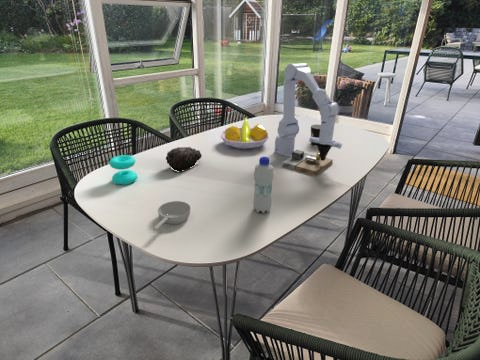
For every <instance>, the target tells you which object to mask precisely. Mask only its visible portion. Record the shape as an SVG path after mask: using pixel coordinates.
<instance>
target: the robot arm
mask: <svg viewBox="0 0 480 360" xmlns="http://www.w3.org/2000/svg"><path fill="white" fill-rule="evenodd" d="M283 70H284V72H283V74H284V78H283V98H282V99H283V106H282V107H283V111H282V113H283V115H282V116H283V117H282V118H281V119H280V120H279V121H278V126H277V136H276V137H275V139H274V151H273V153H274V154H277V155H281V156H285V157H288V158H291V157H292V152H294V151H295V141H296V140H295V139H296V137H297V135H298V134H299V133H300V132H299V131H300V126H299V120H298V119H297V118H296V117H295V114H296V112H295V111H296V109H295V107H296V105H295V104H296V84H297V83H299V81H302V82H303V83H304V84H305V85H306V87H307V88H308V89H309V91H311V93H312V96H311V97H312V99H313V100H314V103H316V105H317V107H318V108H319V115H320V125H321V128H320V136H319V138H316V137H311V136H310V137H309V139H308V142H309V143H311V142H315V143H319V144H318V146H316V147H317V149H318V151H319V152H318V153H320V157H321V160H322V161H324V160H325V158H327V156H328V154H329V152H330V150H331V149H332V147H333V148H337V149H341V148H342V146H343V143H341V142H338V141H336V140H333V137H334V131H335V123H336V117H337V116H338V114H339V113H340V110H341V109H340V105H339V103H338V102H336V101H333V100H332V98H330V96H329V94H328V93H327V90H325V89H324V88H320V86H319V85H318V83H317V81H316V79H315V77H314V76H313V75H312V73H311V71H312V69H311V67H310V66H309V64H308V63H306V62H302V63H301V62H300V63H289V64H287V65H286V67H284V69H283Z"/></svg>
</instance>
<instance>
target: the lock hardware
mask: <svg viewBox="0 0 480 360" xmlns="http://www.w3.org/2000/svg"><path fill="white" fill-rule="evenodd" d="M304 153H305V151H304V150H300V149H294V152H292V156H291V157H292V159H295V160H300V158H304ZM314 158H315V157H314ZM307 163H310V164H314V160H311V159H307Z"/></svg>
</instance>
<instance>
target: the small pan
mask: <svg viewBox="0 0 480 360" xmlns="http://www.w3.org/2000/svg"><path fill="white" fill-rule="evenodd" d="M157 213H158V217H159V218H160V221H159V222H157V224H156V225H155V226H154V227H153V230H158V229H159V228H160V227H161V226H162V225H164V223H165V224H167V225H179V224H183V223H184V222H186V221H187V219H188V218H189V217H190V215H191V206H190V204H189V203H187V202H185V201H179V200H175V201H174V200H173V201H168V202H166V203H163V204H161V205H160V206H159V207H157ZM167 214H168V215H167Z"/></svg>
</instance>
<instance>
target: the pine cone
mask: <svg viewBox="0 0 480 360" xmlns="http://www.w3.org/2000/svg"><path fill="white" fill-rule="evenodd" d="M201 153H202V152H201V151H200V150H198V149H196V148H192V147H190V146H187V147H185V146H184V147H183V146H182V147H179V146H178V147H175V148H172V149H170V150H169V151H168V152H167V153H166V157H165V160H166V163H167V164H168V165H169V167H170V168H171V167H172V168H173V169H174V170H177V171H182V170H185V171H187V170H186V169H188V168H190V167H192V166H194V165H195V163H196V162H198V161H199V160H200V159H201V158H202V154H201ZM195 166H196V165H195ZM195 166H194V167H195ZM192 168H193V167H192ZM190 169H191V168H190ZM188 170H189V169H188ZM182 172H183V171H182Z"/></svg>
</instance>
